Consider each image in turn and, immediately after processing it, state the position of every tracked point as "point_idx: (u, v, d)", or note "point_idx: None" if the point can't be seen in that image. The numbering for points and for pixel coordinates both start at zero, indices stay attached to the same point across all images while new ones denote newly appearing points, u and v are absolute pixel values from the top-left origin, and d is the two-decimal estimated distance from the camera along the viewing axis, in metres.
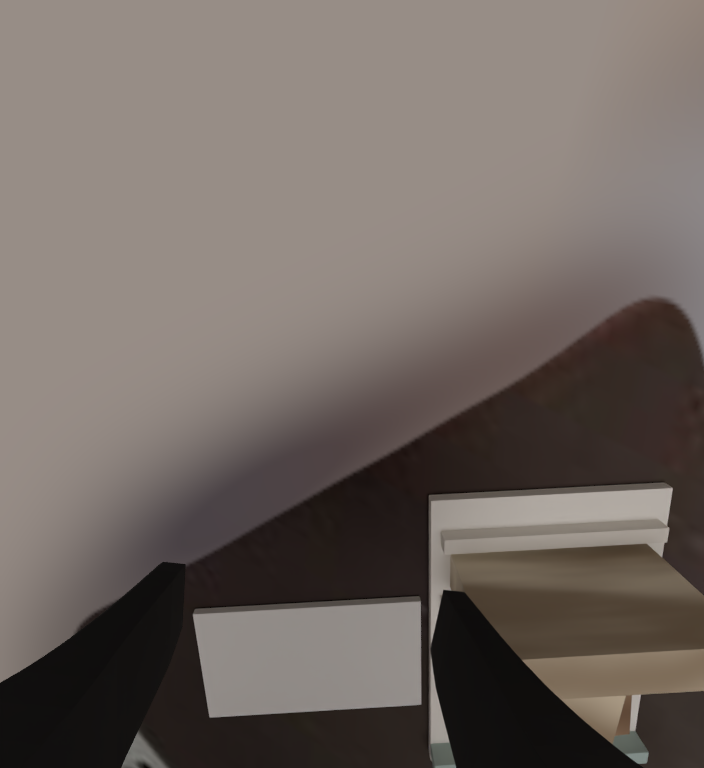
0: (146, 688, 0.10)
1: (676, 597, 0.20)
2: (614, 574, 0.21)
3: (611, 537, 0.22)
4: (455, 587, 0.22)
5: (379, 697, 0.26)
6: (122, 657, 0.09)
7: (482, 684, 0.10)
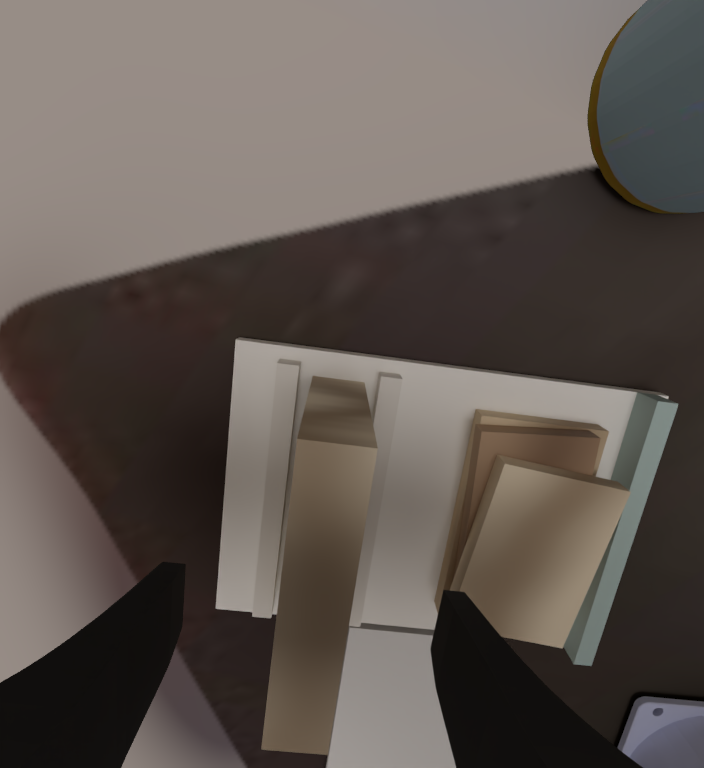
0: (146, 688, 0.10)
1: None
2: None
3: (279, 436, 0.17)
4: None
5: None
6: (122, 657, 0.09)
7: (482, 684, 0.10)
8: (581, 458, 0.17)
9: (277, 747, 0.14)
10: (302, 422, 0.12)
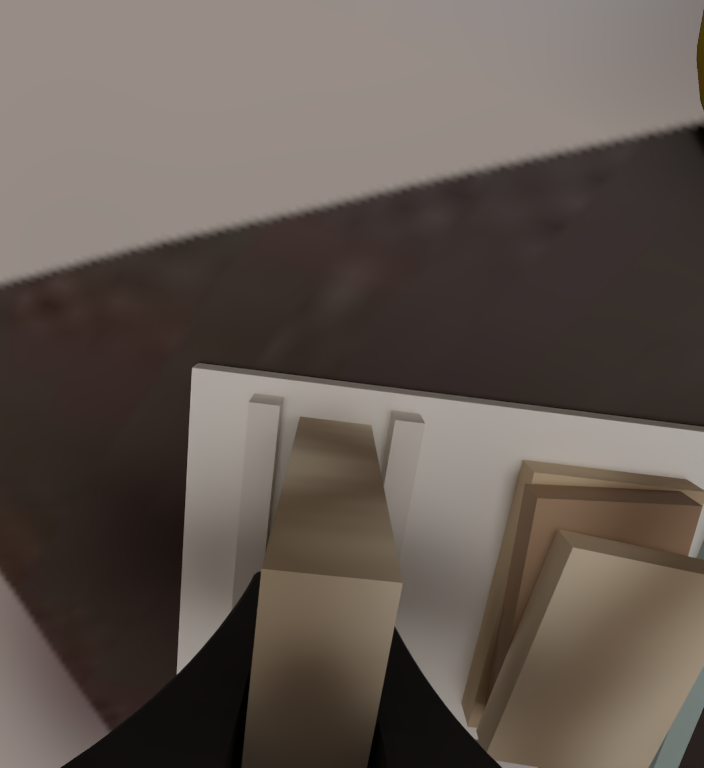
0: None
1: None
2: None
3: (253, 501, 0.12)
4: None
5: None
6: None
7: None
8: (674, 533, 0.12)
9: None
10: (275, 521, 0.07)
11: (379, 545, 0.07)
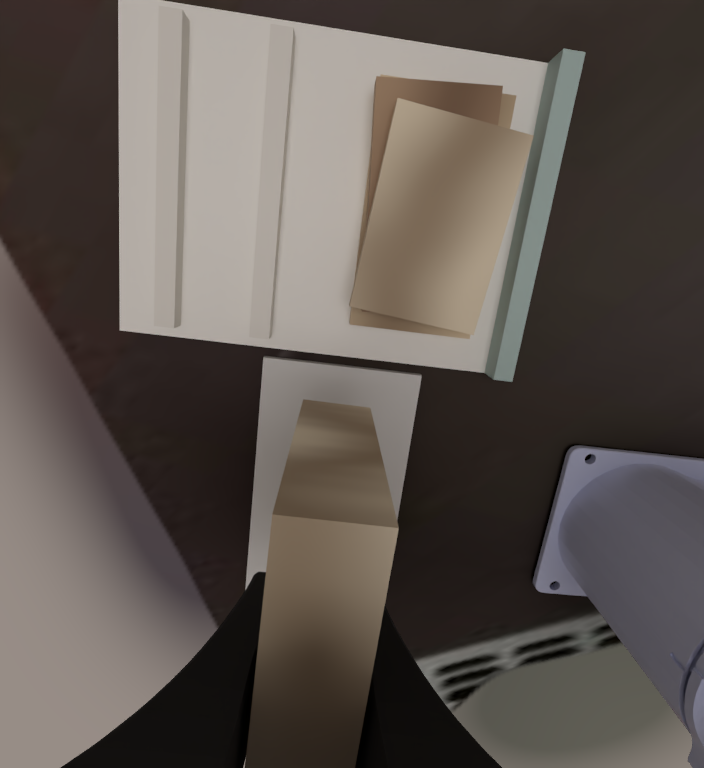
0: None
1: None
2: None
3: (167, 99, 0.16)
4: None
5: (398, 423, 0.21)
6: (252, 668, 0.09)
7: None
8: (484, 111, 0.16)
9: None
10: (283, 480, 0.08)
11: (377, 500, 0.08)
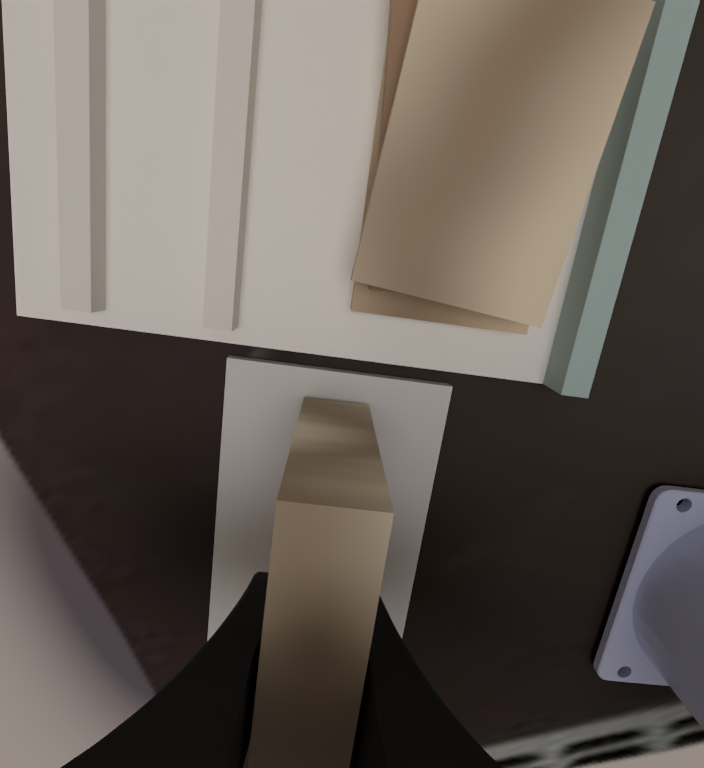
0: None
1: None
2: None
3: None
4: None
5: (417, 453, 0.15)
6: (252, 668, 0.09)
7: None
8: None
9: None
10: (286, 470, 0.09)
11: (374, 488, 0.09)
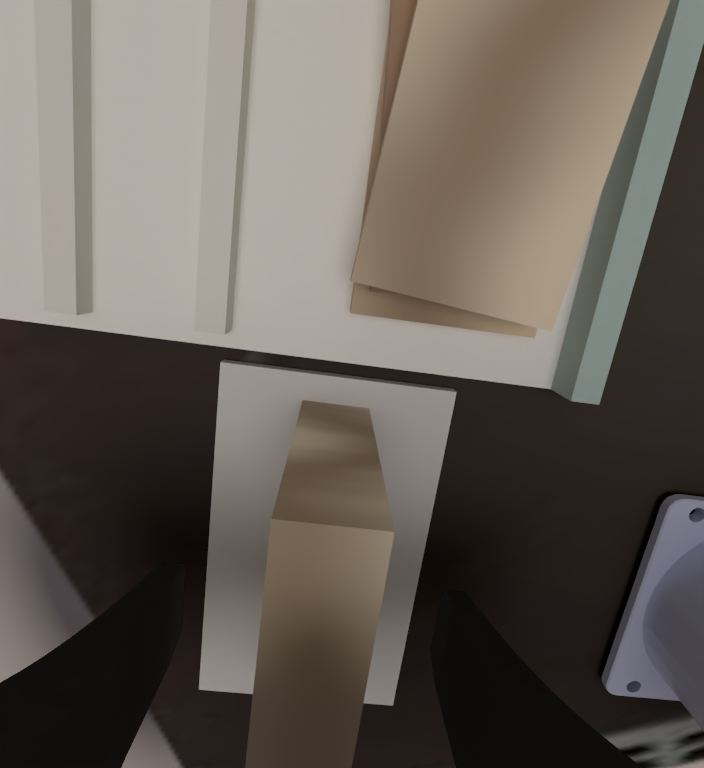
0: (146, 688, 0.10)
1: None
2: None
3: None
4: None
5: (419, 461, 0.14)
6: (122, 657, 0.09)
7: (482, 684, 0.10)
8: None
9: None
10: (282, 483, 0.08)
11: (374, 503, 0.08)
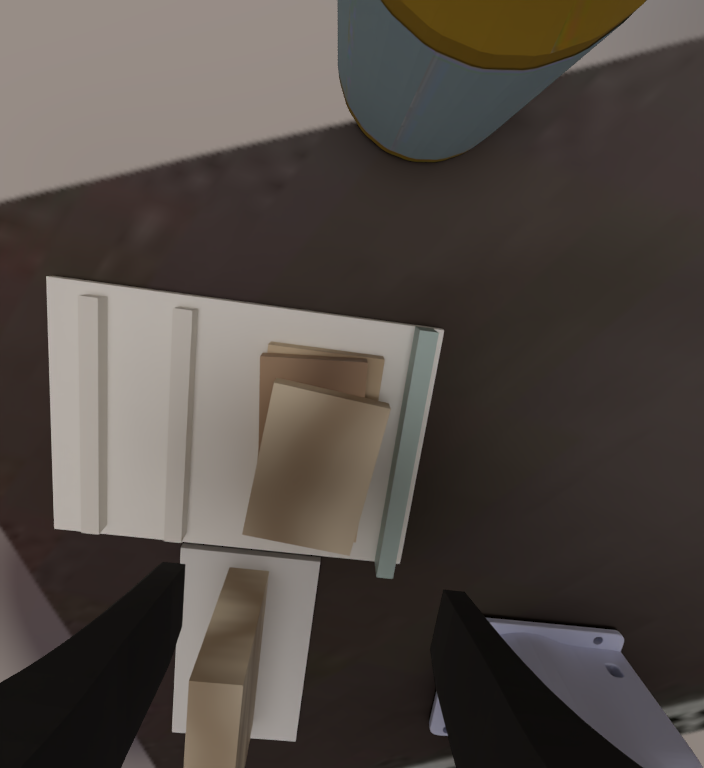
0: (146, 688, 0.10)
1: None
2: None
3: (87, 363, 0.19)
4: None
5: (301, 599, 0.24)
6: (122, 657, 0.09)
7: (482, 684, 0.10)
8: (353, 381, 0.19)
9: None
10: (199, 653, 0.18)
11: (241, 665, 0.18)
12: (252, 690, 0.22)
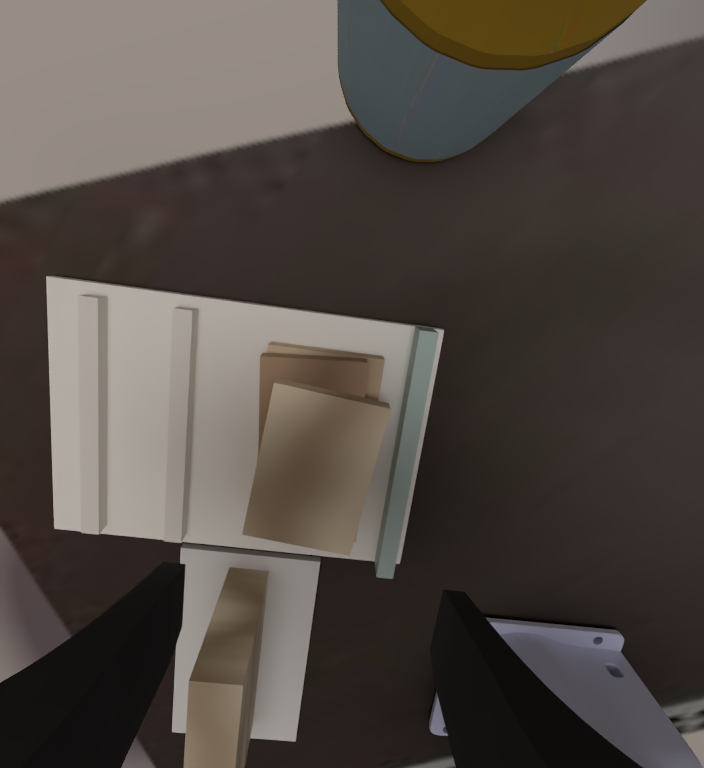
0: (146, 688, 0.10)
1: None
2: None
3: (87, 363, 0.19)
4: None
5: (301, 599, 0.24)
6: (122, 657, 0.09)
7: (482, 684, 0.10)
8: (353, 381, 0.19)
9: None
10: (199, 653, 0.18)
11: (241, 665, 0.18)
12: (252, 690, 0.22)
